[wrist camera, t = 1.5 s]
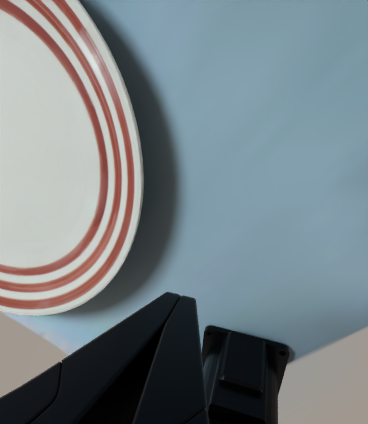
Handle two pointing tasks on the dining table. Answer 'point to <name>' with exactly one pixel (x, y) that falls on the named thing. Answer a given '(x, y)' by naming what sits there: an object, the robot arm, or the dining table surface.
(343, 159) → the dining table surface
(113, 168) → the dinner plate
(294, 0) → the dining table surface
